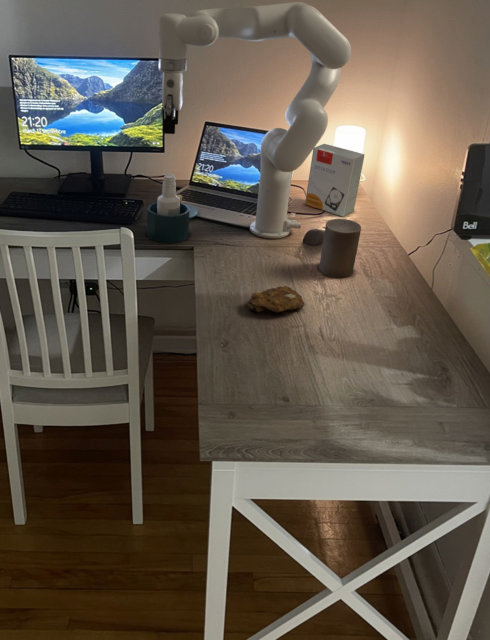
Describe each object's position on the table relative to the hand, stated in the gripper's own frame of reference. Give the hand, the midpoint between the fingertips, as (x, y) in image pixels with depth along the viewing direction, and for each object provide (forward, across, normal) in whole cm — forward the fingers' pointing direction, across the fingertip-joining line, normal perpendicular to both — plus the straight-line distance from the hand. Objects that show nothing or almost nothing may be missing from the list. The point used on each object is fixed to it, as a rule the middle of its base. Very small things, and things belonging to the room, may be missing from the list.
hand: (170, 128), depth 192 cm
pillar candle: (+32, -17, -50) cm, 62 cm away
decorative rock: (+32, -41, -32) cm, 61 cm away
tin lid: (+32, +17, -1) cm, 36 cm away
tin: (+32, 0, 0) cm, 32 cm away
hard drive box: (+32, +31, -52) cm, 69 cm away
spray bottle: (+32, 0, 0) cm, 32 cm away
